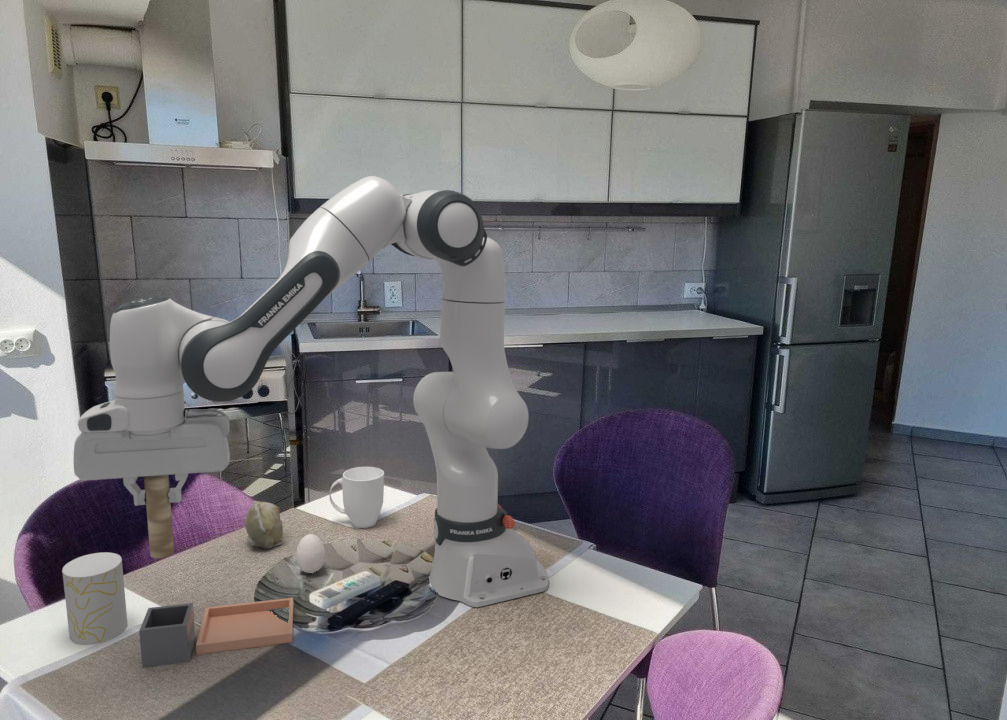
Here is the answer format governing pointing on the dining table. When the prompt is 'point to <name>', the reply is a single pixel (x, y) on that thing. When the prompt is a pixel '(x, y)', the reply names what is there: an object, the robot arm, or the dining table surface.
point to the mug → (361, 495)
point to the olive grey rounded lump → (264, 525)
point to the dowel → (159, 516)
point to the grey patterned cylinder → (95, 598)
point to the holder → (167, 635)
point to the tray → (244, 626)
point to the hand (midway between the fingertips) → (158, 502)
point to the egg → (310, 553)
